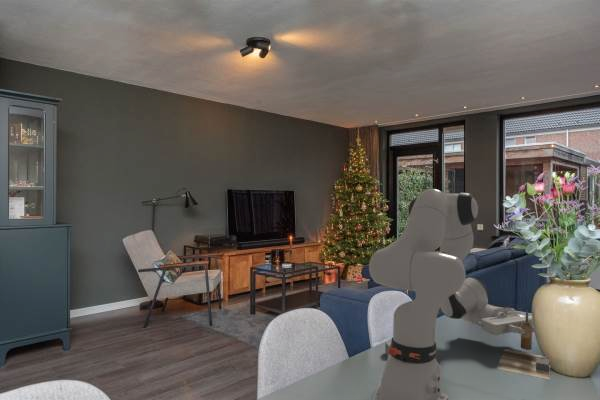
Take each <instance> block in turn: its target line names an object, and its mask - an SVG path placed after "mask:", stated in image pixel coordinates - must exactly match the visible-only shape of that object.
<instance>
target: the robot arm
mask: <svg viewBox="0 0 600 400" xmlns="http://www.w3.org/2000/svg"><path fill="white" fill-rule="evenodd" d="M476 200H477V199H476V197H475V196H474V195H472V194H471V193H467V192H459V193H444V192H443V191H441V190H439V189H436V188H428V189H425V190H423V191H421V192H420V193H419V195H418V196H417V197H414V198H413V199H412V200H411V201H410V202H409V205H408V219H407V223H406V225H405V228H404V230H403V232H402V234H400V236H398V238H396V240H394V241H393V242H392V243H390V244H388V245H387V246H385V247H383V248H381V249H377V250H376V251H375V252H374V253H373V254H372V256H371V258H370V259H369V264H368V272H369V275H370V277H371V279H372V280H373V282H374V283H376V284H378V285H381V286H384V287H387V288H391V289H397V290H406V291H413V292H415V298H414V299H413V300H410V301H409V300H408V301H407V302H404V303H402V304H400V305H399V306H397V308H396V309H395V310H394V313H393V319H392V320H393V323H392V325H393V326H392V327H393V329H392V330H393V331H392V333H393V334H392V337H391V340H390V342H391V345H390V347H389V350H388V353H389V355H388V357H387V360H386V364H385V366H384V370H383V373H382V376H381V379H379V381H378V384H377V386H376V389H375V391H374V393H373V395H372V396H373V397H372V398H371V400H449V396H448V395H447V394H446V393H444V392H443V371H442V366H441V365H440V364H439V363H438V361H437V359H436V358H437V351H438V348H437V342H436V326H437V318H438V314H439V311H441V312H442V313H443V315H444V316H445V317H448V318H449V319H455V320H460V319H462V320H463V321H464V322H467V323H468V324H469V323H470V324H472V325H474V326H479V327H480V329H482V331H485V332H487V333H489V334H491V335H496V336H497V335H503V334H508V333H509V334H510V333H513V334H519V335H521V334H525V333H526V332H525V331H526V330H525V328H522V327H521V323H523V321H526V313H523V312H520V311H516V309H515V308H512V307H500V306H495V305H492V304H489V297H488V295H489V294H488V290H487V287H486V285H485V284H484V282H482V281H480V280H479V279H477V278H475V277H471V276H470V277H466V275H467V273H466V268H465V265H464V264H463V260H464V259H465V258H466V257H467V256H468V255H469V254H470V253H471V251H472V249H473V246H474V240H475V238H474V232H473V229H472V224H473V223H474V222H475V221H476V220H477V218H478V214H479V213H478V212H479V206H478V203H477V201H476ZM437 249H439V251H437ZM532 317H533V316H532V315H529V314H528V321H529V322H530V324H532V333H535V332H536V330H535V331H534V327H533V322H532Z"/></svg>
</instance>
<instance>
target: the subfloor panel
mask: <svg viewBox="0 0 600 400" xmlns="http://www.w3.org/2000/svg"><path fill="white" fill-rule="evenodd" d="M537 356H538V357H541V356H542V357H543V356H544V355H540V354H538V355H537V354H533V353H528V352H523V351H518V350H512V349H507V348H503V352H502V354H501V357H500V359H499V361H498V365H497V368H496V369H497V370H502V371H505V372H510V373H516V374H520V375H526V376H529V377H535V378H538V379H545V380H548V381H550V380H551V378H550V376H551V364H550V365H549V372H545V371H541V370H536V359H537Z"/></svg>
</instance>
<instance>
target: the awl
mask: <svg viewBox="0 0 600 400" xmlns="http://www.w3.org/2000/svg"><path fill="white" fill-rule="evenodd" d="M525 314H526V321H523V323H521V327H522V328H525V330H526V331H525V332H526V333H525V334H520V348H521V349H522V350H526V351H530V350H532V348H533V347H532V346H533V345H532V344H533V343H532V341H533V332H532V324H530V322H529V321H528V315H529V312H528V311H525Z"/></svg>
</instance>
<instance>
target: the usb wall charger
mask: <svg viewBox="0 0 600 400" xmlns="http://www.w3.org/2000/svg"><path fill="white" fill-rule="evenodd" d="M390 345H391V341H385V346H384V347H385V350H384V351H385V352H384V353H385V355H386V357H387V358H388V355H389V353H388V350H389V347H390Z"/></svg>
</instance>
